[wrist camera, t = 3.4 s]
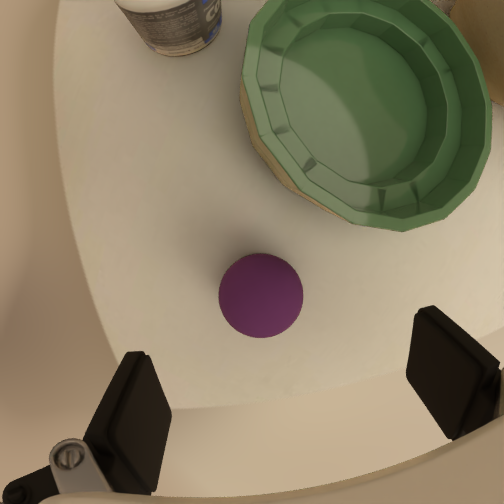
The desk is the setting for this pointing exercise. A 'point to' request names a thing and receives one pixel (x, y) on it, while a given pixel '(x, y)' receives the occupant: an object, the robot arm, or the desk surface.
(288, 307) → the ball
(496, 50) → the planter bowl
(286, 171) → the bowl
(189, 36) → the pill bottle
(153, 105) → the desk surface
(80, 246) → the desk surface
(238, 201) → the desk surface
